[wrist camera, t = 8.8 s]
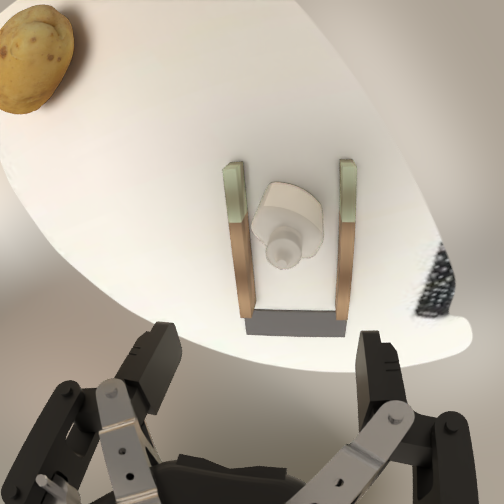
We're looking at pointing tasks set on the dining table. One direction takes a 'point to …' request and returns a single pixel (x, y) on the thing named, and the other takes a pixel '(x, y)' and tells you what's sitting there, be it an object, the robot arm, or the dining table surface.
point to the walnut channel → (242, 245)
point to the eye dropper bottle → (288, 224)
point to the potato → (33, 57)
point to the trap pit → (295, 323)
